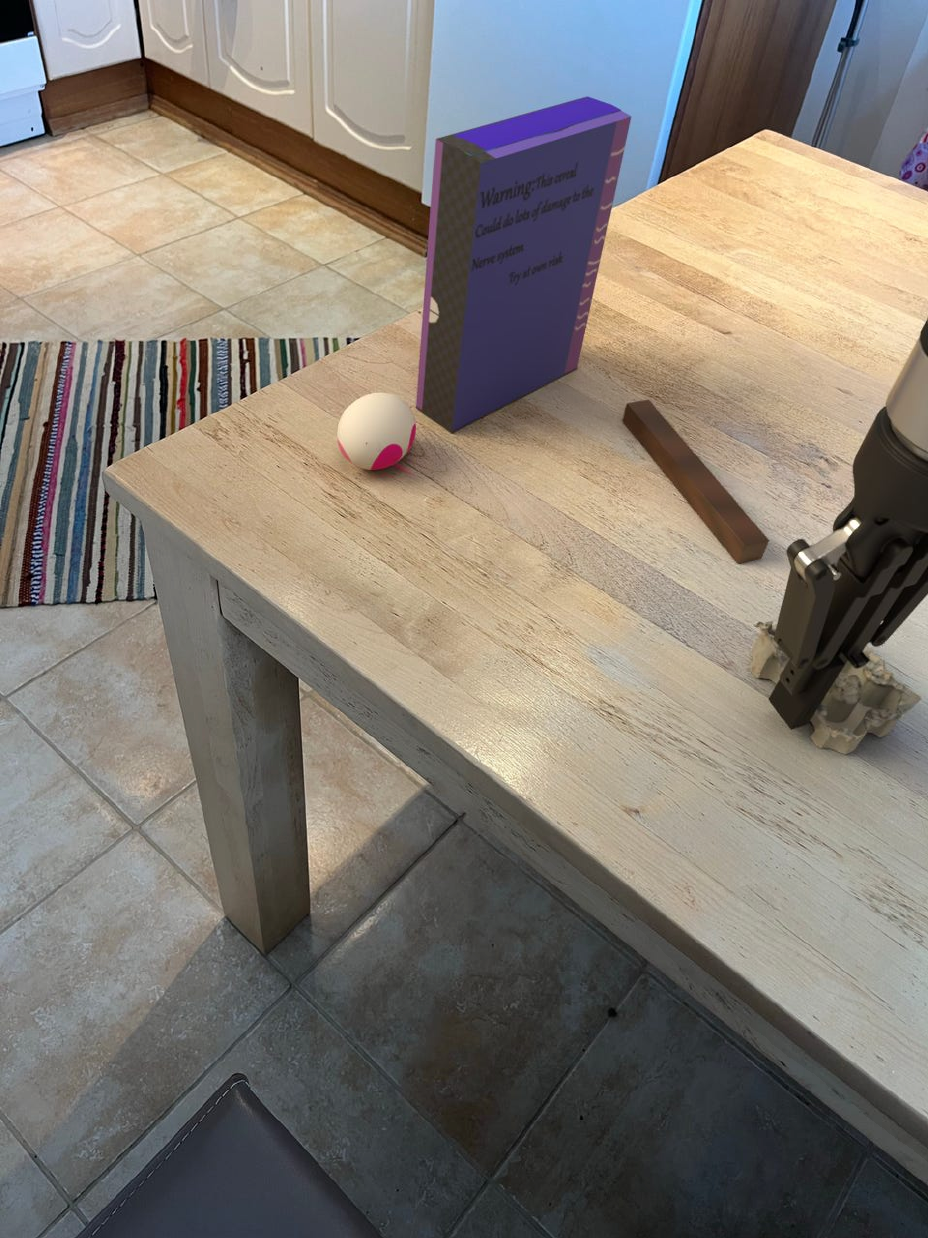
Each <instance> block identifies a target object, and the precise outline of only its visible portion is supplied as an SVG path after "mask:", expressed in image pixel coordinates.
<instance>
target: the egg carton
mask: <svg viewBox="0 0 928 1238" xmlns="http://www.w3.org/2000/svg"><path fill="white" fill-rule="evenodd" d="M773 623H774V620H770V621H766V622H762V621H759V622H757V623H756V624H755V625H754V627H755V628H759V630H760V632H759V635H758V637H757V638H756V639H755V642H754V644H753V646H752V648H751V649H750V652H749V654H750V657H751V658H752V660H751V664H750V666H749V670H750V673H752V676H754V677H755V678H757V679H764V680H767V679H769V680H771V681H772V682H773V683H774V684H775V685H777V683H778V681H779V680H780V675H781V673H782V671H783V669H784V667H786V664H787V662H788V660H789V659H788V657H787V656H786V655H785V654H784V652H783V651H782V650H781V649H780V647H779V646H778V645H777V643H776V642H775V641H774V635H775V631H776V627H777V623H776V624H773ZM863 653H864V654H865V655H866V656H867V657H868V658H869V660H870V661H869V662H868V663H867V664H866V665H865V666H863V667H861V668H858V669H855V668H854V667H853V666H852V665H851V663H850V662H849V661H847V663H846V665H845V666H844V668H843V669H842V671H841V672H840V674H839V676H838V677H837V678H836V680H835V682H834V683H833V685H832V686H831V688H830V689H829V691H828V693H827V694H826V696H825V697H824V699H823V700H822V702H821V704H820V705H819V707H818V708H817V710H816V712H815V713H814V715H813V716H812V718H811V719H810V721H809V722H811V724H812V726H813V732H812V734H811V736H810V740H812V742H813V743H814V745H815V746H816V747H818V748H820V749H830V750H834V751H837V752H838V753H840V754H843V755H849V753H852V752H854V751H855V750H856V748H857V747H858V746H859V744H860V743H861V741H862V740H863V739H864V737H865V736H866V735H867V734H868V733H870V734H873V735H874V736H876V737H878V738H883V737H885V736H886V735H887V736H888V735H889V734H890V733H891V731H892V729H893V728H894V727H895V726H896V724H897V722H899V720H900V719H901V718H902V716H903V715H905V714H907V712H909V711H910V710H911V709H912V708H914V707H915V706H916V705H917V704H918V703H919V702H920V701H921V700H922V697H921V695H919V694H917V693H916V692H914V691H912V690H911V689H910V688H909V687H908V686H906V685H905V684H903V683H901V682H899V681H898V680H897V679H896V678H895V676H894V672H893V671H888V669H887V667H886V662H885V660H884V659H883V658H882V657H881V656H879V655H877V654H876V653H874V652H873V650H872V649H871V648H870V647H869V646H868V644H867V645H866V647H865V649H864V650H863Z"/></svg>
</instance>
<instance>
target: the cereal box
mask: <svg viewBox="0 0 928 1238" xmlns="http://www.w3.org/2000/svg"><path fill="white" fill-rule="evenodd" d="M631 120H632V116H631V115H630V114H628V113H626V112H625V111H623V110H622V109H620V108H618V107H617V106H615V105H613V104H611V103H608V102H605V101H602V100H599V99H596V98H594V97H591V96H587V95H586V96H583V97H580V98H576V99H573V100H569V101H566V102H563V103H558V104H555V105H552V106H548V107H545V108H541V109H537V110H533V111H529V112H526V113H523V114H519V115H516V116H513V117H508V118H505V119H501V120H498V121H495V122H490V123H487V124H484V125H480V126H476V127H472V128H469V129H465V130H463V131H458V132H454V133H452V134H448V135H443V136H441V137H437V138H435V143H434V155H433V156H434V157H433V170H432V171H433V172H432V184H431V197H430V210H429V211H430V213H429V224H428V225H429V226H428V239H427V252H426V264H425V265H426V267H425V280H424V292H423V307H422V320H421V331H420V333H421V335H420V347H419V360H418V371H417V372H418V373H417V374H418V375H417V385H416V400H415V410H417V411H419V412H420V413H422V414H423V415H425V416H426V417H428V418H429V419H430V420H432V422H434V423H436V424H437V425H439V426H440V427H442V428H443V429H444V430H446V431H447V432H449V433H450V434H454V433H456V432H458V431H460V430H461V429H464V428H466V427H467V426H470V425H472V424H473V423H475V422H478V421H479V420H481V419H484V418H485V417H487V416H489V415H491V414H493V413H495V412H497V411H498V410H501V409H503V408H504V407H507V406H508V405H510V404H512V403H514V402H516V401H518V400H519V399H522V398H524V397H526V396H527V395H530V394H532V393H534V392H535V391H538V390H540V389H541V388H544V387H545V386H547V385H549V384H551V383H553V382H555V381H557V380H559V379H561V378H563V377H565V376H567V375H569V374H571V373H573V372H575V371H577V369H578V366H579V361H580V356H581V352H582V348H583V343H584V338H585V334H586V330H587V325H588V320H589V316H590V311H591V306H592V301H593V297H594V292H595V288H596V282H597V278H598V273H599V270H600V265H601V259H602V256H603V252H604V245H605V241H606V236H607V233H608V228H609V222H610V217H611V214H612V209H613V204H614V200H615V195H616V190H617V187H618V186H617V185H618V181H619V177H620V172H621V169H622V168H621V167H622V164H623V163H622V162H623V159H624V153H625V148H626V143H627V139H628V135H629V130H630V127H631V126H630V125H631Z"/></svg>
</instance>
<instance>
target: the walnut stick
mask: <svg viewBox="0 0 928 1238" xmlns="http://www.w3.org/2000/svg"><path fill="white" fill-rule="evenodd" d="M622 423H623V424H624V425H625V426H626V428H627V429H628V430H629V432H631V434H632V435H633V436H634V438H635V439H636V440H637V441H638V442H639V444H640V445H641V446H642V447H643V448H644V450H645V451H646V452H647V454H648V455H649V456H650V457H651V458H652V460H653V461H654V462H655V464H656V465H657V466H658V467H659V468H660V470H661V471H662V472H663V474H665V476H666V477H667V479H669V481H670V482H671V483H672V484H673V486H674V487H675V488H676V489H677V491H678V492H679V493H680V495H681V496H682V497H683V498H684V499H685V501H686V502H687V504H689V506H690V507H691V508H692V509H693V510H694V512H695V513H696V514H697V516H699V518H700V519H701V520H702V522H703V523H704V524H705V526H706V527H707V528H708V529H709V530H710V531H711V533H712V534H713V535H714V536H715V538H716V540H717V541H718V542H719V544H721V546H723V548H724V549H725V550H726V551H727V553H728V554H729V555H730V556H731V558H732V559H733V561H734V562H735V563H736V564H742V563H747V562H751V561H755V560H759V559H762V558H763V556H764V554H765V551H766V549H767V547H768V545H769V542H770V539H769V538H768V537H767V536H766V535H765V534H764V533H763V531H762V530H761V529H760V528H759V527H758V525H757V524H756V522H754V521H753V520H752V519H751V517H750V516H749V515H748V513H746V511H745V510H744V509H743V508H742V506H741V505H740V504H739V503H738V501H736V500H735V499H734V497H733V496H732V495H731V494H730V492H729V491H728V490H727V489H726V488H725V487H724V486H723V485H722V483H721V482H720V481H719V480H718V478H717V477H716V476H715V475H714V474H713V473H712V472H711V470H710V469H709V468H708V467H707V465H705V464H704V462H703V461H702V460H701V459H700V457H698V455H697V454H696V453H695V452H694V451H693V450H692V448H691V447H690V446H689V445H688V443H687V442H686V441H685V440H684V438H682V436H681V435H680V434H679V433H678V432H677V430H676V429H675V428H674V427H673V426H672V425H671V424H670V423H669V421H668V420H667V419H666V418H665V417H664V415H663V414H662V413H661V412H660V411H659V409H658V408H657V407H656V406H655V405H654V403H652V401H651V400H650V399H643V400H639V401H632V402H627V403H626V405H625V409H624V412H623V416H622Z"/></svg>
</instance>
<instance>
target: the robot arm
mask: <svg viewBox="0 0 928 1238" xmlns="http://www.w3.org/2000/svg"><path fill="white" fill-rule="evenodd" d="M919 333H920V334H919V336H918V338H917V340H916V341H915V344H914V345H913V348H912V349H911V351H910V353H909V355H908V356H907V359H905V360H906V361H905V362H904V364H903V366H902V368H901V370H900V372H899V373H898V375H897V377H896V379H895V381H894V383H893V385H892V387H891V389H890V391H889V392H888V395H887V398H886V400H885V404H884V405H885V406H883V407H881V409H880V410H878V412H877V413H876V416H875V417H874V419H873V422H872V424H871V425H870V427H869V429H868V431H867V433H866V435H865V438H864V439H863V441H862V443H861V445H860V446H859V449H858V450H857V453H856V454H855V457H854V459H853V462H852V478H853V486H854V487H853V490H854V491H853V492H854V493H853V498H852V499H851V500H850V502H849V503H848V504H847V505H846V506H845V508H844V509H843V510H841V512H840V513H839V514H838V515H837V516H836V518H835V519H834V522H833V524H832V532H831V533H830V534H828V535H827V536H825V537H823V538H822V539H821V540H819V541H817V542H816V543H814V544H811V545H810V544H809V543H808V542H807V541H806V540H805V538H799V539H796V540H795V541H793V542H792V543H790V544H789V546H787V548H786V553H785V554H786V556H787V560H788V563H789V565H790V569H789V574H788V578H787V582H786V586H785V589H784V593H783V599H782V603H781V606H780V611H779V615H778V619H777V623H776V624H777V627H776V631H775V635H774V641H775V642H776V643H777V645H778V646H779V647H780V649H781V650H782V651H783V652H784V654H785V655H786V656H787V657H788V659H789V660H788V662H787V664H786V667H784V669H783V671H782V673H781V675H780V680H779V681H778V683H777V684H775V686H774V689H773V690H772V692H771V693H770V695H769V697H768V699H767V700H768V702H769V703H770V704H771V705H772V707H773V708H774V709H775V711H776V712H777V714H778V715H779V716H780V718H781V719H782V720H783V721H784V723H785V724H786V725H787V727H788V728H789V729H790V730H795V729H798V728H801V727H804V726H807V725H808V724H809V723H810V722H811V721H810V719H811V718H812V716H813V715H814V713H815V712H816V710H817V708H818V707H819V705H820V704H821V702H822V700H823V699H824V697H825V696H826V694H827V693H828V691H829V689H830V688H831V686H832V685H833V683H834V682H835V680H836V678H837V677H838V676H839V674H840V672H841V671H842V669H843V668H844V666H845V665H846V663H847V661H849V662H850V663H851V665H852V666H853V667H854V668H855V669H858V668H861V667H863V666H865V665H866V664H867V663H868V662H869V661H870V660H869V658H868V657H867V656H866V655H865V654H864V653H863V650H864V649H865V647H866V645H867V646H868V644H871V645H872V646H873V647H875V648H877V647H881V646H883V645H884V644H885V643H886V642H887V641H888V640H889V639H890V638H891V637H892V636H893V635H894V633H895V632H896V631H897V630H898V629H899V628H900V627H901V626H902V625H903V623H904V622H905V620H907V619H908V618H909V616H910V615H911V614H912V613H913V612H914V611H915V610H916V608H917V607H918V606H919V605H920V604H921V603H922V602H923V600H925V598H926V597H927V596H928V317H927V319H926V320H925V323H924V324H923V326H922V328H921V330H920V331H919Z"/></svg>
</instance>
